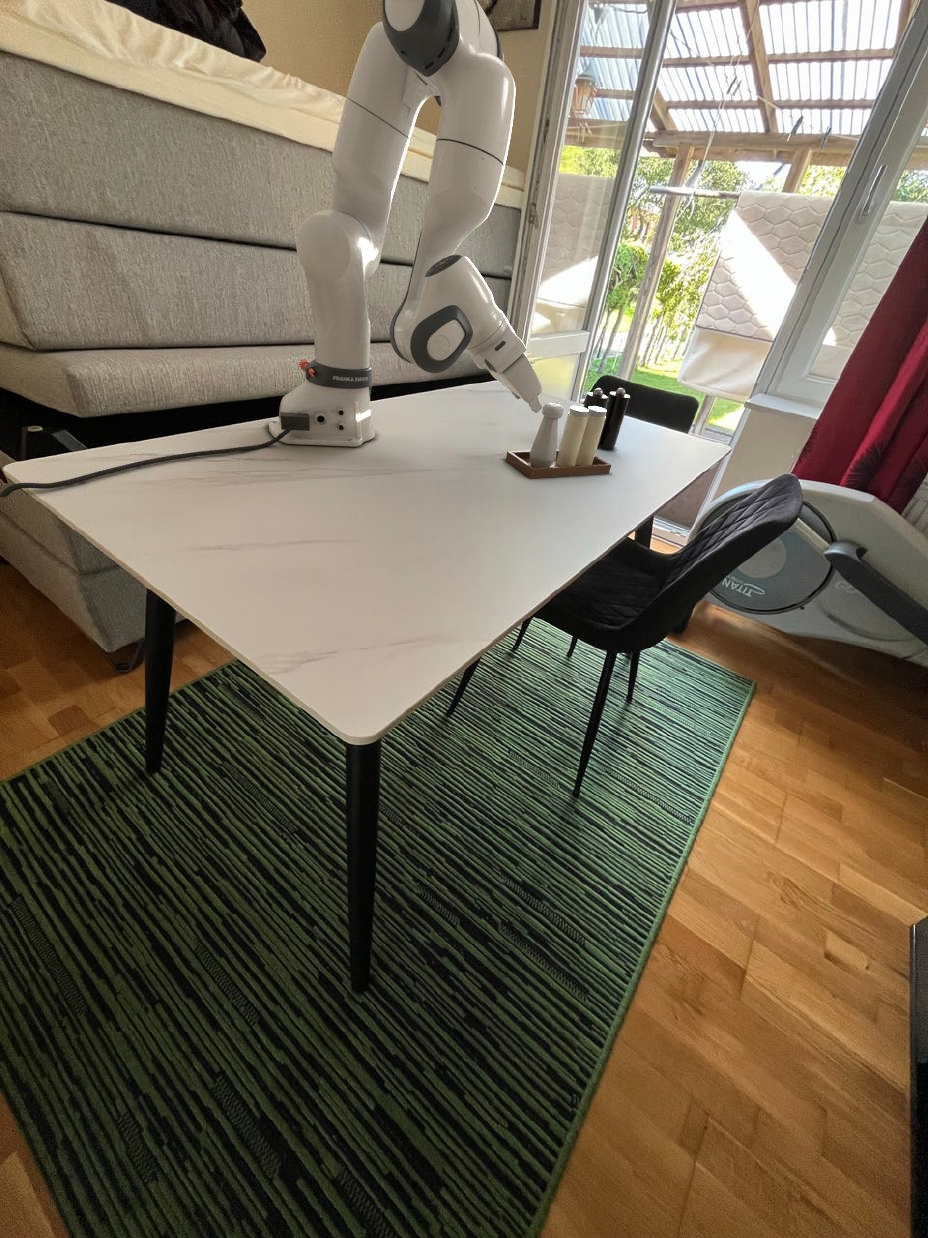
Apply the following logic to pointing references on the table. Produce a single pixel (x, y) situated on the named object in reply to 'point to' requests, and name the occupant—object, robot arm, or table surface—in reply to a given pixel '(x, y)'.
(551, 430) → the salt shaker
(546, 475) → the walnut tray
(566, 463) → the cream shaker
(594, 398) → the pepper mill
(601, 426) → the cream shaker
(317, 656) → the table surface
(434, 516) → the table surface
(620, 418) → the pepper mill
